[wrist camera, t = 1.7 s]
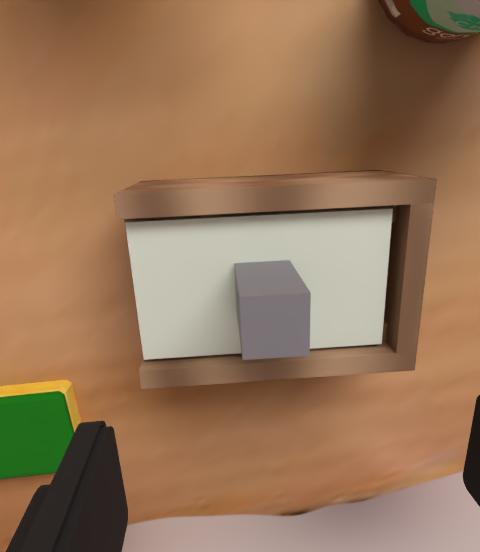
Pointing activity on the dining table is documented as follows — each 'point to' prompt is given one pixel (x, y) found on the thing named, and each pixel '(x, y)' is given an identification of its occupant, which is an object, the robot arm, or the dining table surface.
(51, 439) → the dish sponge
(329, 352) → the slide box
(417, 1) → the food container
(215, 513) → the dining table surface
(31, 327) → the dining table surface
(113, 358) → the dining table surface
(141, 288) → the cover plate
